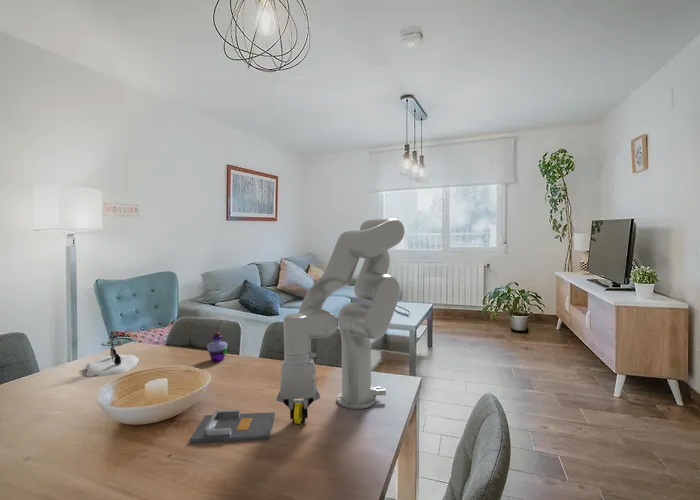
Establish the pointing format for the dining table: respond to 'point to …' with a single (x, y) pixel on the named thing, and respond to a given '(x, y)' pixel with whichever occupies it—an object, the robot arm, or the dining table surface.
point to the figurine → (111, 361)
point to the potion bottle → (217, 348)
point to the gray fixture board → (233, 427)
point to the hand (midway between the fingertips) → (299, 420)
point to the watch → (298, 410)
